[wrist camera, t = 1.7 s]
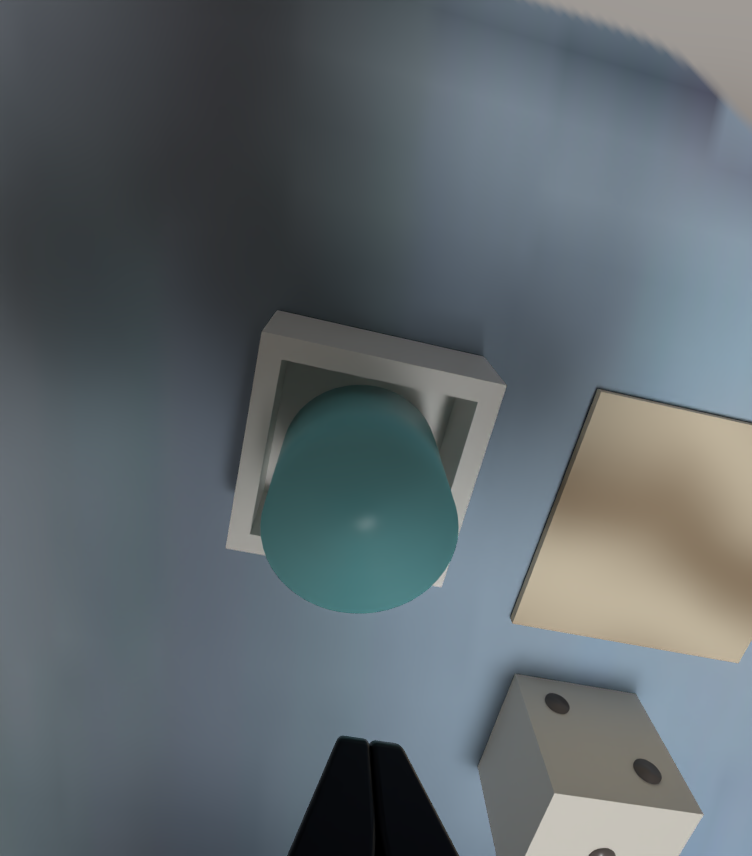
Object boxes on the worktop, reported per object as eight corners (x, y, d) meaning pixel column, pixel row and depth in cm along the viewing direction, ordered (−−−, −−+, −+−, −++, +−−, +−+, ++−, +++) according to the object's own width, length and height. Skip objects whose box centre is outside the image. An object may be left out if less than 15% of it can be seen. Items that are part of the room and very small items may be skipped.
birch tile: (733, 657, 23) (738, 663, 23) (510, 617, 22) (512, 623, 22) (852, 445, 20) (859, 449, 19) (597, 388, 19) (601, 391, 18)
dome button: (415, 538, 18) (430, 627, 14) (270, 510, 18) (246, 595, 14) (454, 402, 16) (482, 463, 13) (297, 369, 16) (278, 421, 12)
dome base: (430, 533, 20) (441, 587, 18) (244, 498, 20) (225, 548, 17) (484, 356, 18) (507, 385, 15) (277, 309, 18) (261, 331, 15)
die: (590, 781, 25) (644, 916, 20) (477, 765, 25) (505, 899, 20) (635, 690, 23) (705, 815, 19) (515, 670, 23) (555, 793, 18)
